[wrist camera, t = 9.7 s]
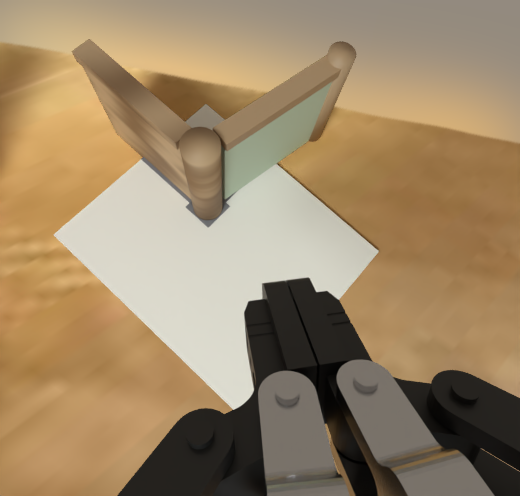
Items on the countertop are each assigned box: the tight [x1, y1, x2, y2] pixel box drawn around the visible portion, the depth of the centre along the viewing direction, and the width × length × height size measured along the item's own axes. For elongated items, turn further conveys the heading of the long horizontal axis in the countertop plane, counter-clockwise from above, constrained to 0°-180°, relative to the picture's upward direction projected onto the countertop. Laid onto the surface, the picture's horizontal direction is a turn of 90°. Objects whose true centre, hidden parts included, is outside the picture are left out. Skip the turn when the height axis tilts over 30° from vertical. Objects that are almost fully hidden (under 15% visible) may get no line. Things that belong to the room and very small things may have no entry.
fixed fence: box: [72, 39, 222, 220], centre depth 27 cm, size 12×2×10 cm, turn 48°
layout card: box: [54, 104, 379, 410], centre depth 30 cm, size 20×17×1 cm
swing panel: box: [213, 42, 356, 199], centre depth 27 cm, size 11×2×9 cm, turn 129°
